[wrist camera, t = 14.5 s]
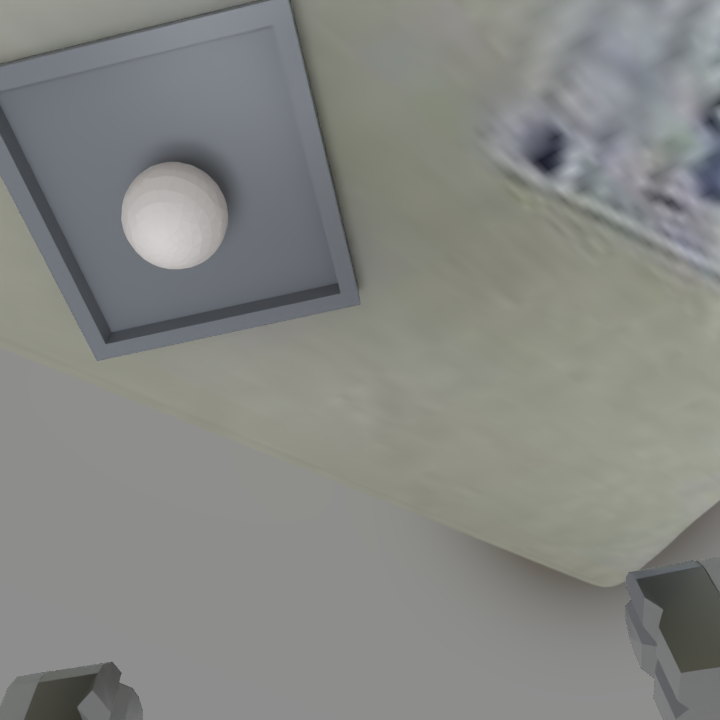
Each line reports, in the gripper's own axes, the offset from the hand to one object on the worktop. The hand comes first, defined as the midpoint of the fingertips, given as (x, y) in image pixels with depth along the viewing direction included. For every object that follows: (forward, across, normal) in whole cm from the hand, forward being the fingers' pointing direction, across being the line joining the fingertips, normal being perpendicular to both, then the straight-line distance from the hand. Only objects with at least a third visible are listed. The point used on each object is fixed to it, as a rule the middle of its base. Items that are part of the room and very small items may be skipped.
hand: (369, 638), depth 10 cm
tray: (+38, +11, +4) cm, 40 cm away
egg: (+38, +11, +4) cm, 39 cm away
